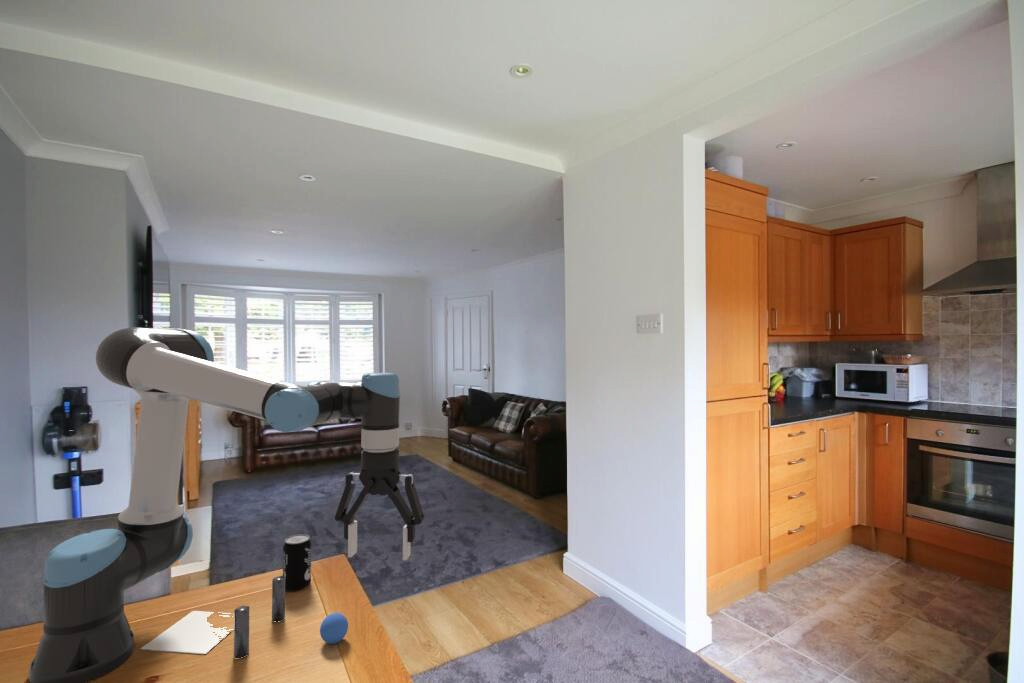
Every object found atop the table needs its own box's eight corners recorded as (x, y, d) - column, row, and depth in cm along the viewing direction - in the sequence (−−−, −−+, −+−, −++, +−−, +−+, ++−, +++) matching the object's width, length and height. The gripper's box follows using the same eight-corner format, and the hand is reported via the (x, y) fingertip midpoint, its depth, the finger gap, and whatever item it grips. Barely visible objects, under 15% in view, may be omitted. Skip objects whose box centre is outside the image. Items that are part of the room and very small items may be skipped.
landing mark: (140, 649, 98) (140, 648, 98) (193, 611, 112) (193, 610, 112) (205, 654, 96) (205, 653, 96) (250, 615, 110) (250, 614, 110)
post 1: (230, 658, 95) (231, 612, 95) (239, 650, 98) (240, 605, 98) (243, 659, 95) (243, 613, 95) (251, 651, 97) (252, 606, 97)
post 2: (269, 622, 108) (269, 581, 108) (276, 615, 110) (276, 575, 110) (280, 622, 107) (281, 581, 107) (287, 616, 110) (287, 576, 110)
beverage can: (300, 593, 120) (300, 544, 120) (276, 590, 121) (277, 542, 121) (316, 581, 126) (316, 534, 126) (293, 578, 128) (294, 532, 128)
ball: (314, 648, 98) (315, 621, 98) (327, 632, 104) (327, 606, 104) (340, 650, 98) (341, 623, 98) (352, 634, 103) (352, 608, 103)
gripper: (440, 446, 103) (439, 551, 103) (334, 443, 105) (333, 545, 105) (430, 454, 95) (430, 567, 95) (317, 450, 98) (316, 561, 97)
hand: (379, 555), depth 100 cm, fingers open, 11 cm apart
